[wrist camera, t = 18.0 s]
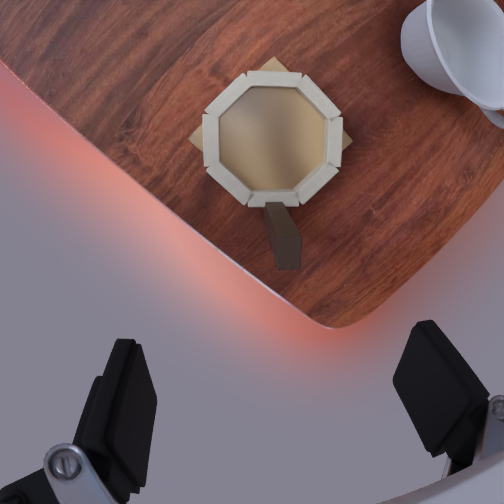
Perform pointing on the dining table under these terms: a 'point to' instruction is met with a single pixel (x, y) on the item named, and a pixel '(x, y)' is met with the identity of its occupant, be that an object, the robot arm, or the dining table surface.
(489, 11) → the teacup
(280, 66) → the cork pad
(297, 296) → the dining table surface
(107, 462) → the robot arm
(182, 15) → the dining table surface
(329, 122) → the ring
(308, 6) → the dining table surface
